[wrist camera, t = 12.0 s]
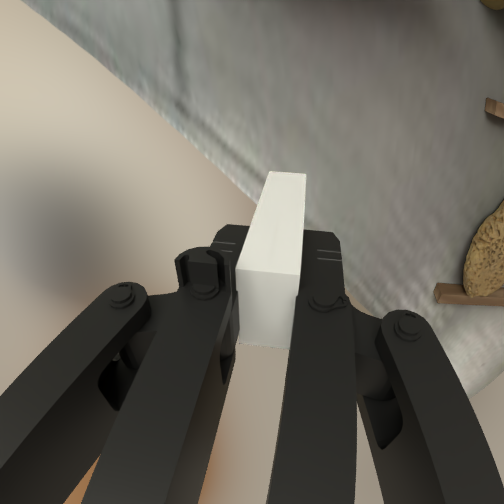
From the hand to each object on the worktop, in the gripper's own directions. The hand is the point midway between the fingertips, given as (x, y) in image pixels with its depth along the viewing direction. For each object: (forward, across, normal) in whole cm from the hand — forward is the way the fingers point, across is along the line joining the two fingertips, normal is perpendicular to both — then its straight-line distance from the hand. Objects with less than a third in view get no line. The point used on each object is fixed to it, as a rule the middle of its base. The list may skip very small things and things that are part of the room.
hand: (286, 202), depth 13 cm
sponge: (+30, +34, -15) cm, 48 cm away
